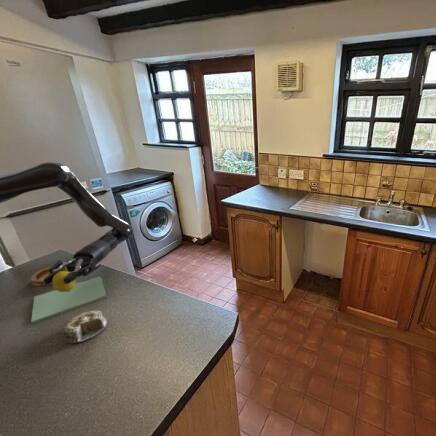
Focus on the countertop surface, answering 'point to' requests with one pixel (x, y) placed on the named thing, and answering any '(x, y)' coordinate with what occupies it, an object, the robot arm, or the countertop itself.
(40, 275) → the holder
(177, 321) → the countertop surface
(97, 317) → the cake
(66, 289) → the lemon
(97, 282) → the mat
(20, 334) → the countertop surface
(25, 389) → the countertop surface
